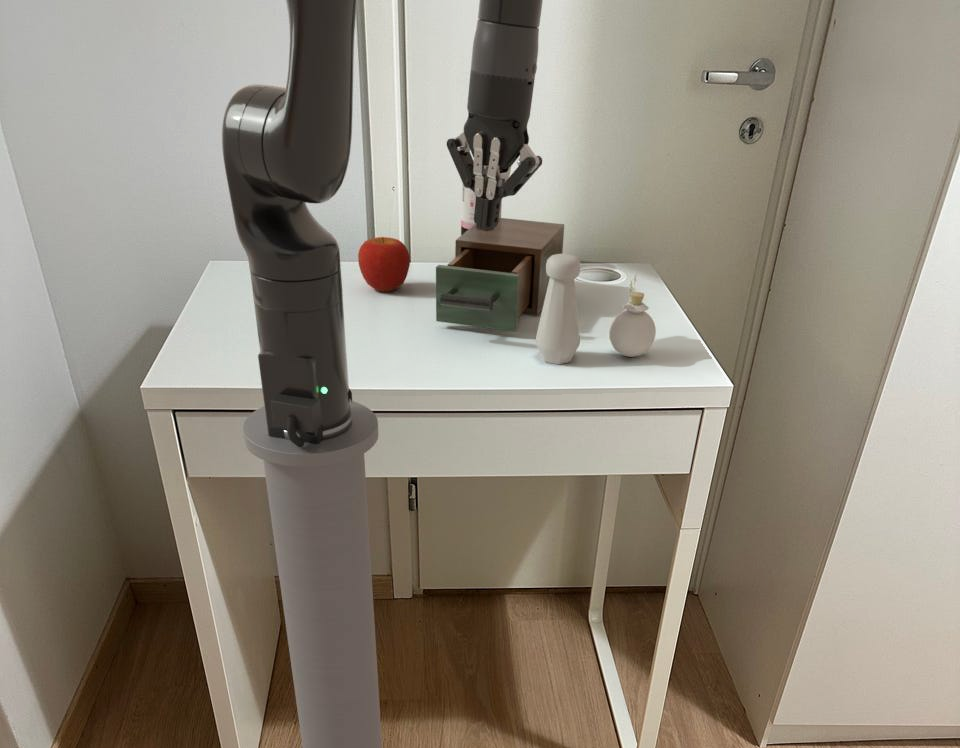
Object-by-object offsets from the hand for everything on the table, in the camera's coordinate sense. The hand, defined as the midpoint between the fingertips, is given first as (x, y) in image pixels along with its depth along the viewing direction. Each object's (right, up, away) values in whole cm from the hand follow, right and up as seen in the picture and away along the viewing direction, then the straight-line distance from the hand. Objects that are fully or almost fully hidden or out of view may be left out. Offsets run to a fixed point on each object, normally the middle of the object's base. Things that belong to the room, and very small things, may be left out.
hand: (485, 229), depth 116 cm
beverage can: (-1, +11, +38) cm, 40 cm away
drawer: (0, -6, +15) cm, 16 cm away
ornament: (+19, -14, +8) cm, 25 cm away
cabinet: (+4, +1, +26) cm, 26 cm away
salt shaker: (+10, -15, +6) cm, 19 cm away
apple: (-16, +3, +27) cm, 31 cm away
